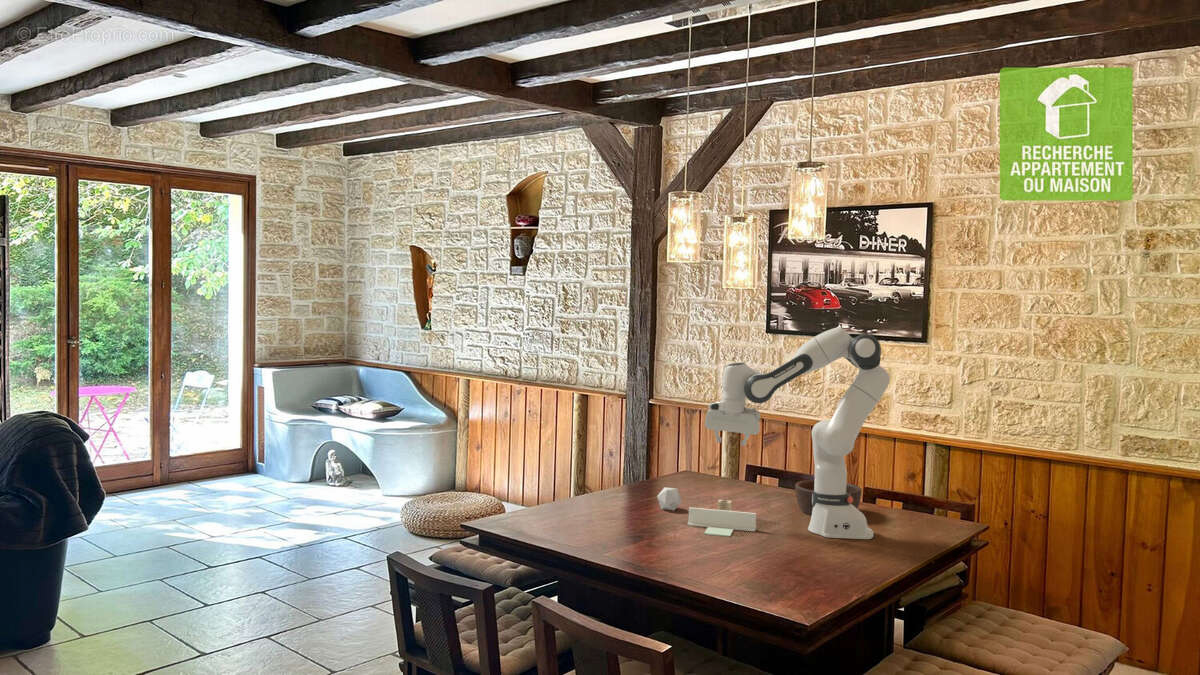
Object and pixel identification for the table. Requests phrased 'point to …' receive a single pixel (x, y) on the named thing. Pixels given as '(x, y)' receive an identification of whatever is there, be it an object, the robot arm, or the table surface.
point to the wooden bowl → (806, 490)
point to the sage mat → (718, 531)
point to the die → (669, 498)
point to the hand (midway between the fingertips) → (730, 443)
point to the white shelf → (722, 519)
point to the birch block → (724, 505)
